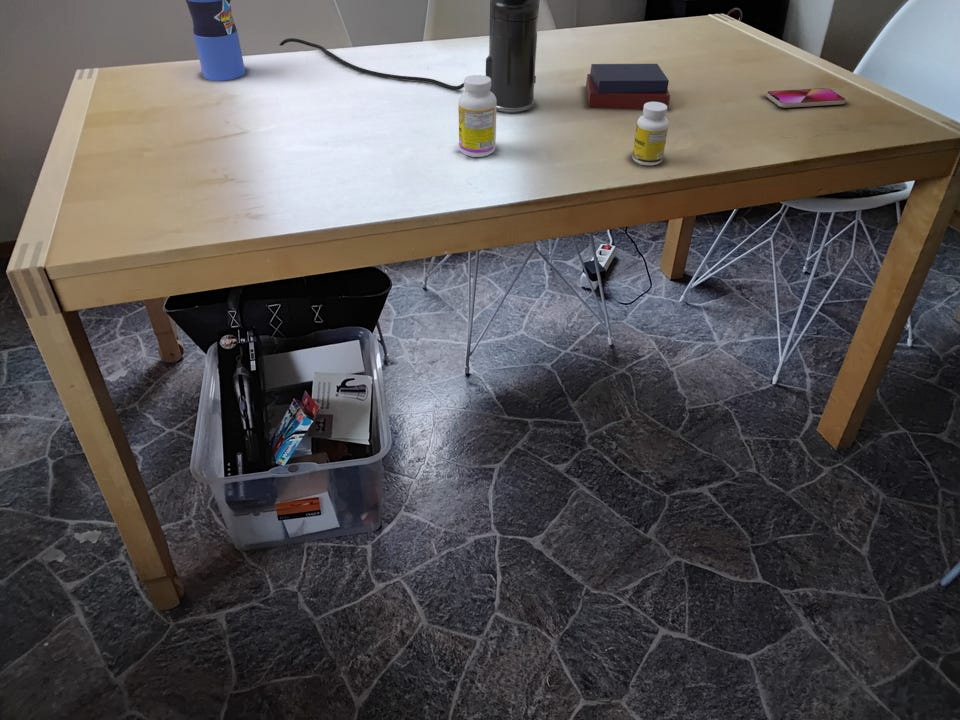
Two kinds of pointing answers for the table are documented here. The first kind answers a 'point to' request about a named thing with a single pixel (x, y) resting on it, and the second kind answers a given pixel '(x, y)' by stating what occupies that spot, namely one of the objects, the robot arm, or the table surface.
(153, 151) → the table surface
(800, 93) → the smartphone
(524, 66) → the robot arm
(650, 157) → the supplement bottle
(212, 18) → the water bottle
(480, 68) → the table surface
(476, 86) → the supplement bottle
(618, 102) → the book stack
